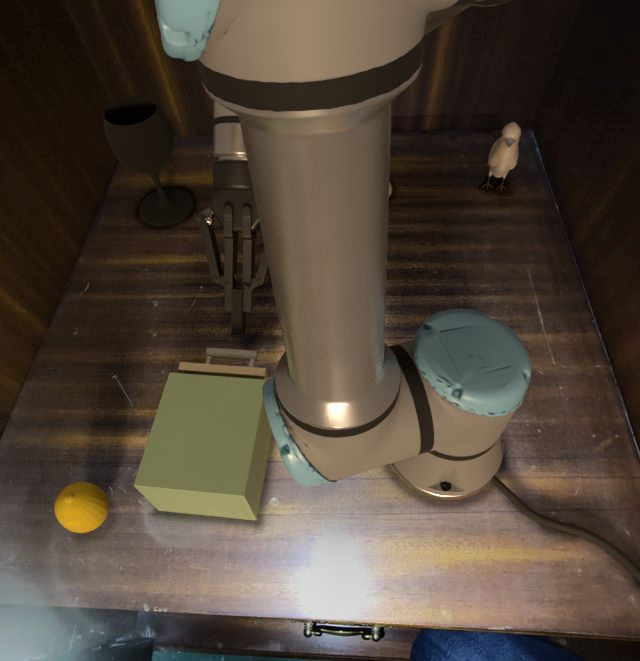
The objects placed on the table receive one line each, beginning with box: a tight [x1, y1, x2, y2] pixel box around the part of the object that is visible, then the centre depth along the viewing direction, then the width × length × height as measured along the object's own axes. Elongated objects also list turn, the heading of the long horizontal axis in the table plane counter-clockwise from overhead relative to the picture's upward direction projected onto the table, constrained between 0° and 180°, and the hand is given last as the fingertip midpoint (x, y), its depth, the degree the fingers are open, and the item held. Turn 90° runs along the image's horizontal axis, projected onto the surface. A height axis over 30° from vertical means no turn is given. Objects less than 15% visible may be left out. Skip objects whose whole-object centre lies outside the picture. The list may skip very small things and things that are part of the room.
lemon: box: [53, 481, 110, 534], centre depth 62 cm, size 6×6×8 cm
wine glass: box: [102, 94, 195, 227], centre depth 90 cm, size 10×10×20 cm
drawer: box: [177, 347, 269, 380], centre depth 67 cm, size 18×11×8 cm, turn 174°
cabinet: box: [133, 372, 273, 522], centre depth 65 cm, size 15×13×10 cm
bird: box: [481, 121, 522, 192], centre depth 91 cm, size 5×14×15 cm, turn 163°
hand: (238, 333), depth 74 cm, fingers closed
